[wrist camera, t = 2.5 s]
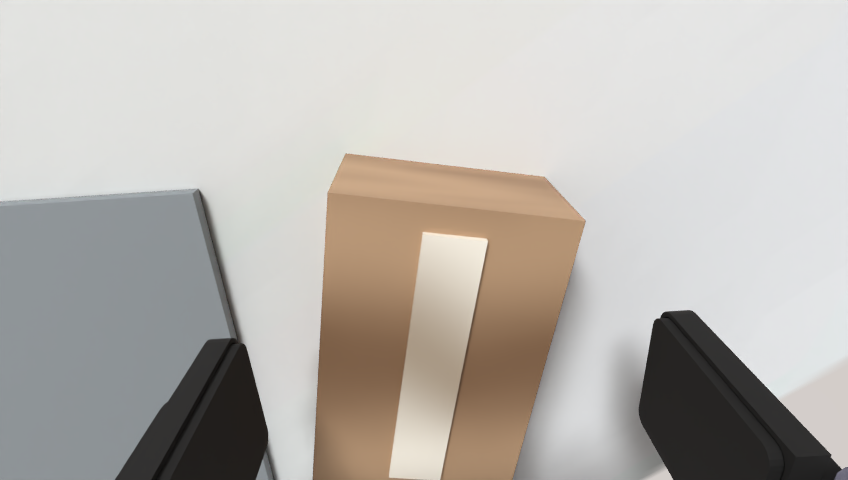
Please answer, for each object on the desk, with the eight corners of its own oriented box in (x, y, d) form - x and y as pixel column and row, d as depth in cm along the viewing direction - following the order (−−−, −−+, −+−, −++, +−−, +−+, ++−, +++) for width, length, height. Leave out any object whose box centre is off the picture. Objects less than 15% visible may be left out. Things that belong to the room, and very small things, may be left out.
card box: (487, 405, 17) (508, 501, 14) (330, 394, 17) (311, 490, 13) (541, 174, 14) (588, 223, 10) (346, 151, 13) (326, 195, 10)
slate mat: (295, 563, 20) (293, 573, 19) (-52, 590, 19) (-61, 601, 19) (198, 188, 13) (192, 193, 13) (-326, 223, 13) (-348, 229, 13)
